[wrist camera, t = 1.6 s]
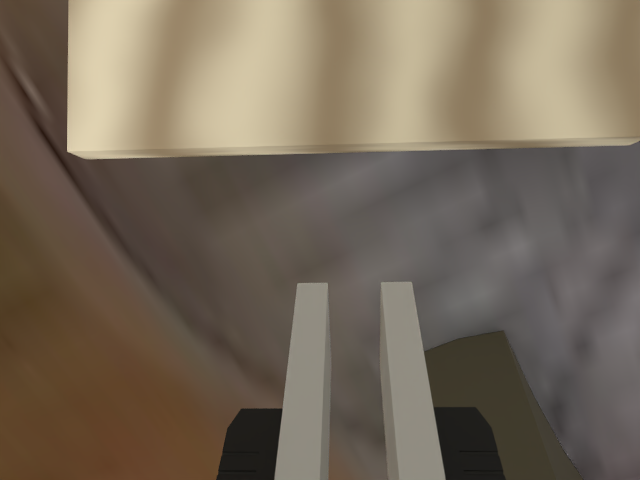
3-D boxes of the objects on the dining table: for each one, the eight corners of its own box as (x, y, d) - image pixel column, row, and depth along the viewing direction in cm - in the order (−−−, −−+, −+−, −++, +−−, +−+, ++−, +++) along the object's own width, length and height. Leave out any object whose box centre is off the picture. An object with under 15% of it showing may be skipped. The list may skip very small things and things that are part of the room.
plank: (621, -43, 27) (640, -65, 25) (629, 145, 26) (649, 136, 24) (86, -20, 28) (69, -40, 26) (85, 159, 28) (67, 151, 26)
